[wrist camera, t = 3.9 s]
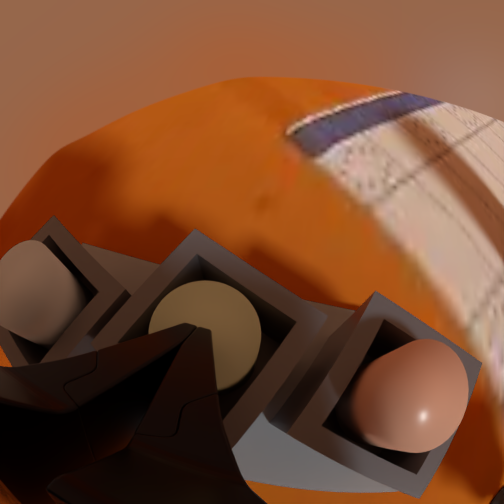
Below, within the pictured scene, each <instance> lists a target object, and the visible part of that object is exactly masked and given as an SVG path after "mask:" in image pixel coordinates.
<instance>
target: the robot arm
mask: <svg viewBox="0 0 504 504" xmlns="http://www.w3.org/2000/svg"><path fill="white" fill-rule="evenodd" d="M0 504H267V503H266V502H265V501H264V500H262V499H261V498H260V497H259V496H258V495H257V494H256V493H255V492H254V491H252V490H251V489H250V487H249V486H248V485H247V483H246V482H245V480H244V478H243V476H242V474H241V472H240V469H239V467H238V464H237V462H236V459H235V456H234V454H233V451H232V448H231V446H230V443H229V440H228V437H227V434H226V431H225V428H224V424H223V421H222V417H221V412H220V406H219V398H218V391H217V382H216V372H215V362H214V352H213V342H212V331H211V330H210V329H207V328H203V327H197V326H196V325H193V324H189V323H181V324H178V325H175V326H172V327H169V328H166V329H163V330H160V331H157V332H154V333H151V334H148V335H145V336H141V337H138V338H135V339H132V340H129V341H125V342H122V343H119V344H116V345H112V346H109V347H106V348H102V349H99V350H98V351H92V352H88V353H85V354H81V355H77V356H73V357H69V358H65V359H60V360H54V361H49V362H43V363H37V364H30V365H24V366H17V367H3V366H0Z"/></svg>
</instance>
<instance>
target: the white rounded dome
mask: <svg viewBox="0 0 504 504" xmlns="http://www.w3.org/2000/svg"><path fill="white" fill-rule="evenodd" d="M93 298H94V296H93V294H92V292H91V291H90V290H89V289H88V288H87V287H86V286H85V285H84V284H83V283H82V282H81V281H80V280H78V279H77V278H76V277H75V276H74V275H73V274H72V273H71V272H70V271H69V270H68V269H67V268H66V267H65V266H64V265H63V264H62V263H61V262H60V260H59V259H58V258H57V257H56V256H55V255H54V254H53V253H52V252H51V251H50V250H49V249H48V248H47V247H46V246H45V245H44V244H43V243H41V242H39V241H36V240H28V241H24V242H21V243H19V244H17V245H15V246H14V247H12V248H11V249H10V250H9V251H8V252H7V253H6V254H5V255H4V256H3V257H2V259H1V260H0V326H2V327H4V328H6V329H8V330H10V331H11V332H13V333H15V334H17V335H19V336H21V337H23V338H25V339H27V340H29V341H31V342H33V343H35V344H38V345H40V346H42V347H44V348H46V349H49V350H50V349H51V348H52V347H53V345H54V344H55V343H56V342H57V340H58V339H59V338H60V337H61V335H62V334H63V333H64V332H65V331H66V329H67V328H68V327H69V326H70V325H71V323H72V322H73V321H74V320H75V319H76V317H77V316H78V315H79V314H80V313H81V312H82V310H83V309H84V308H85V307H86V306H87V305H88V304H89V302H90V301H91V300H92V299H93Z"/></svg>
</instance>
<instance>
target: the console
mask: <svg viewBox="0 0 504 504" xmlns="http://www.w3.org/2000/svg"><path fill="white" fill-rule="evenodd" d="M31 240H36V241H39V242H41V243H43V244H44V245H45V246H46V247H47V248H48V249H49V250H50V251H51V252H52V253H53V254H54V255H55V256H56V257H57V258H58V259H59V260H60V262H61V263H62V264H63V265H64V266H65V267H66V268H67V269H68V270H69V271H70V272H71V273H72V274H73V275H74V276H75V277H76V278H77V279H78V280H80V281H81V282H82V283H83V284H84V285H85V286H86V287H87V288H88V289H89V290H90V291H91V292H92V294H93V296H94V298H93V299H92V300H91V301H90V302H89V304H88V305H87V306H86V307H85V308H84V309H83V310H82V312H81V313H80V314H79V315H78V316H77V317H76V319H75V320H74V321H73V322H72V323H71V325H70V326H69V327H68V328H67V329H66V331H65V332H64V333H63V334H62V335H61V337H60V338H59V339H58V340H57V342H56V343H55V344H54V345H53V347H52V348H51V349H50V350H49V349H46V348H44V347H42V346H40V345H38V344H35V343H33V342H31V341H29V340H27V339H25V338H23V337H21V336H19V335H17V334H15V333H13V332H11V331H10V330H8V329H6V328H4V327H2V326H0V345H1V347H2V349H3V351H4V353H5V354H6V356H7V358H8V360H9V361H10V363H11V365H12V367H17V366H24V365H30V364H37V363H43V362H49V361H54V360H60V359H65V358H69V357H73V356H77V355H81V354H85V353H88V352H92V351H98V350H99V349H102V348H106V347H109V346H112V345H116V344H119V343H122V342H125V341H129V340H132V339H135V338H138V337H141V336H145V335H148V333H149V325H150V321H151V317H152V315H153V313H154V311H155V309H156V307H157V306H158V304H159V303H160V302H161V301H162V299H163V298H164V297H165V296H166V295H168V294H169V293H170V292H171V291H173V290H174V289H176V288H178V287H180V286H182V285H184V284H187V283H191V282H196V281H215V282H220V283H223V284H226V285H228V286H231V287H233V288H234V289H236V290H238V291H239V292H240V293H242V294H243V295H244V296H245V297H246V298H247V299H248V300H249V302H250V303H251V304H252V306H253V307H254V309H255V311H256V313H257V315H258V318H259V322H260V327H261V342H260V348H259V352H258V356H257V360H256V364H255V368H254V370H253V373H252V375H251V376H250V378H249V379H248V380H247V381H246V383H245V384H243V385H242V386H241V387H240V388H238V389H237V390H235V391H232V392H230V393H227V394H222V395H218V398H219V406H220V412H221V417H222V421H223V424H224V428H225V431H226V434H227V437H228V440H229V443H230V446H231V448H232V451H233V454H234V456H235V459H236V462H237V464H238V467H239V469H240V472H241V474H242V476H243V478H244V479H245V480H250V481H255V482H260V483H265V484H271V485H277V486H284V487H291V488H299V489H308V490H319V491H333V492H396V491H400V492H403V493H405V494H408V495H411V496H413V497H416V498H420V497H421V495H422V494H423V492H424V490H425V489H426V487H427V486H428V484H429V482H430V481H431V479H432V477H433V476H434V474H435V472H436V470H437V469H438V467H439V465H440V463H441V461H442V459H443V457H444V456H445V454H446V452H447V450H448V448H449V446H450V444H451V442H452V440H453V437H454V435H455V433H456V431H457V429H458V428H457V429H456V430H455V432H454V433H453V434H452V435H451V436H450V437H449V439H448V440H446V441H445V442H444V443H443V444H441V445H440V446H438V447H436V448H434V449H432V450H430V451H426V452H421V453H410V452H404V451H398V450H392V449H387V448H381V447H376V446H371V445H367V444H362V443H359V442H356V441H354V440H352V439H351V438H349V437H348V436H347V435H346V434H345V433H344V432H343V430H342V429H341V427H340V426H339V423H338V421H337V417H336V411H335V405H336V403H337V402H338V400H339V398H340V397H341V395H342V394H343V392H344V390H345V389H346V387H347V386H348V384H349V382H350V381H351V379H352V377H353V376H354V374H355V372H356V370H357V369H358V367H360V366H362V365H364V364H366V363H368V362H371V361H373V360H375V359H377V358H379V357H381V356H383V355H385V354H388V353H390V352H392V351H394V350H396V349H398V348H400V347H402V346H404V345H406V344H407V343H410V342H412V341H415V340H419V339H432V340H437V341H439V342H442V343H444V344H446V345H447V346H449V347H450V348H451V349H452V350H453V351H454V352H455V353H456V354H457V355H458V357H459V358H460V360H461V362H462V363H463V366H464V368H465V371H466V374H467V379H468V388H469V392H468V402H467V405H468V403H469V400H470V397H471V395H472V392H473V389H474V386H475V383H476V380H477V378H478V374H479V371H480V368H481V365H482V363H481V362H480V361H478V360H477V359H476V358H474V357H473V356H471V355H470V354H469V353H467V352H466V351H464V350H463V349H461V348H460V347H459V346H457V345H456V344H454V343H453V342H451V341H450V340H448V339H447V338H446V337H444V336H443V335H441V334H440V333H438V332H437V331H435V330H434V329H432V328H431V327H429V326H428V325H427V324H425V323H424V322H422V321H421V320H419V319H418V318H416V317H415V316H413V315H412V314H410V313H409V312H407V311H406V310H404V309H403V308H401V307H400V306H398V305H397V304H395V303H393V302H392V301H390V300H389V299H387V298H386V297H384V296H383V295H381V294H380V293H378V292H377V291H375V292H374V293H373V294H372V295H371V296H370V297H369V298H368V299H367V300H366V301H365V302H364V303H363V304H362V305H361V306H360V307H359V308H358V309H357V310H356V311H355V310H350V309H345V308H340V307H335V306H331V305H326V304H321V303H317V302H312V301H308V300H303V299H301V298H300V297H298V296H297V295H295V294H293V293H292V292H290V291H289V290H287V289H286V288H284V287H283V286H281V285H280V284H278V283H277V282H275V281H274V280H272V279H271V278H269V277H267V276H266V275H264V274H263V273H261V272H260V271H258V270H257V269H255V268H254V267H252V266H251V265H249V264H248V263H246V262H245V261H243V260H242V259H240V258H239V257H237V256H236V255H234V254H233V253H231V252H230V251H228V250H226V249H225V248H223V247H222V246H220V245H219V244H217V243H216V242H214V241H213V240H211V239H210V238H208V237H207V236H205V235H204V234H202V233H201V232H199V231H198V230H196V229H194V230H193V231H192V232H191V233H190V234H189V235H188V236H187V237H186V238H185V239H184V240H183V241H182V243H181V244H180V245H179V246H178V247H177V248H176V249H175V250H174V251H173V252H172V253H171V254H170V255H169V256H168V257H167V258H166V259H165V260H164V261H163V262H162V263H161V265H160V264H156V263H153V262H149V261H145V260H142V259H138V258H134V257H131V256H127V255H124V254H120V253H116V252H113V251H109V250H106V249H102V248H99V247H96V246H92V245H89V244H85V243H82V245H81V244H80V243H79V242H78V241H77V240H76V239H75V238H74V237H73V236H72V235H71V234H70V232H69V231H68V230H67V229H66V228H65V227H64V226H63V225H62V224H61V223H60V221H59V220H58V219H57V218H56V217H55V216H54V215H53V216H52V217H51V218H50V220H49V221H48V222H47V223H46V224H45V225H44V226H43V227H42V228H41V229H40V230H39V231H38V232H37V233H36V234H35V235H34V236H33V237H32V238H31ZM466 408H467V407H466ZM458 427H459V426H458Z"/></svg>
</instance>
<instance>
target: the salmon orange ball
mask: <svg viewBox="0 0 504 504" xmlns="http://www.w3.org/2000/svg"><path fill="white" fill-rule="evenodd" d="M468 392H469V388H468V379H467V374H466V371H465V368H464V366H463V363H462V362H461V360H460V358H459V357H458V355H457V354H456V353H455V352H454V351H453V350H452V349H451V348H450V347H449V346H447V345H446V344H444V343H442V342H439V341H437V340H432V339H419V340H415V341H412V342H410V343H407V344H406V345H404V346H402V347H400V348H398V349H396V350H394V351H392V352H390V353H388V354H385V355H383V356H381V357H379V358H377V359H375V360H373V361H371V362H368V363H366V364H364V365H362V366H360V367H358V369H357V370H356V372H355V374H354V376H353V377H352V379H351V381H350V382H349V384H348V386H347V387H346V389H345V390H344V392H343V394H342V395H341V397H340V398H339V400H338V402H337V403H336V405H335V411H336V417H337V421H338V423H339V426H340V427H341V429H342V430H343V432H344V433H345V434H346V435H347V436H348V437H349V438H351V439H352V440H354V441H356V442H359V443H362V444H367V445H371V446H376V447H381V448H387V449H392V450H398V451H404V452H410V453H421V452H426V451H430V450H432V449H434V448H436V447H438V446H440V445H441V444H443V443H444V442H445V441H446V440H448V439H449V437H450V436H451V435H452V434H453V433H454V432H455V430H456V429H457V428H458V426H459V424H460V423H461V420H462V418H463V416H464V413H465V411H466V407H467V402H468Z"/></svg>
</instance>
